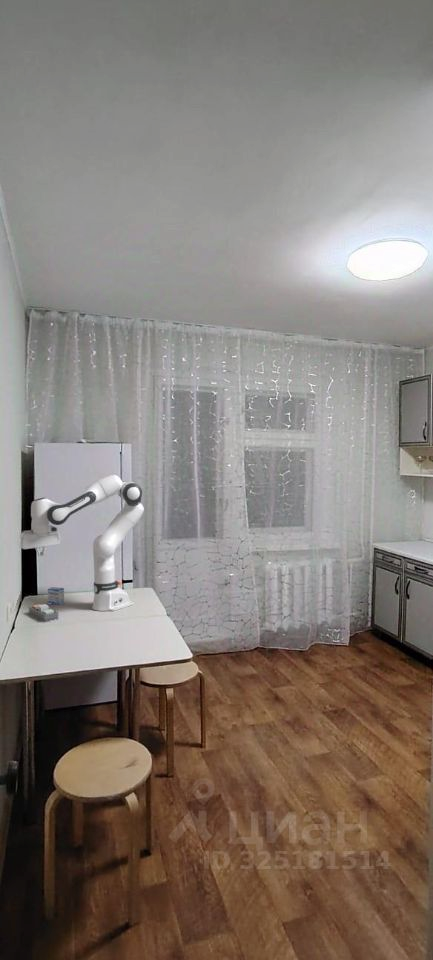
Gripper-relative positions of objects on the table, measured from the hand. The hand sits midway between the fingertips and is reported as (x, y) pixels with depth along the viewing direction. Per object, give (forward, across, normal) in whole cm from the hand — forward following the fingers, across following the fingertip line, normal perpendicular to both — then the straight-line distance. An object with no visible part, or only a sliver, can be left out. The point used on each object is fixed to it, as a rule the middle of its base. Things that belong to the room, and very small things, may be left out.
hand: (41, 555), depth 259 cm
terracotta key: (+30, -1, +3) cm, 30 cm away
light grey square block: (+29, -1, -3) cm, 29 cm away
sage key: (+30, -1, -10) cm, 31 cm away
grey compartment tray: (+31, -1, -3) cm, 31 cm away
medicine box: (+31, +14, +15) cm, 37 cm away
